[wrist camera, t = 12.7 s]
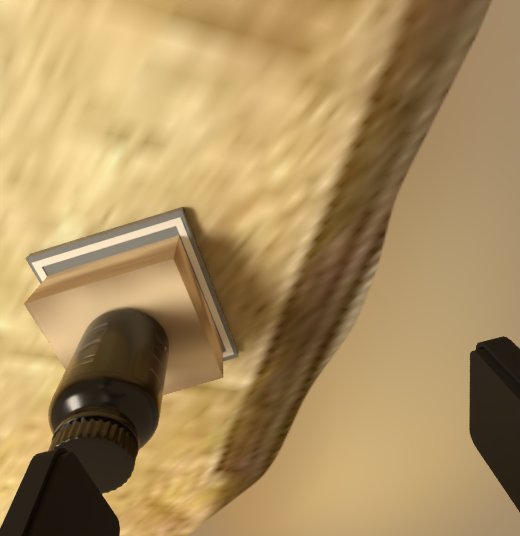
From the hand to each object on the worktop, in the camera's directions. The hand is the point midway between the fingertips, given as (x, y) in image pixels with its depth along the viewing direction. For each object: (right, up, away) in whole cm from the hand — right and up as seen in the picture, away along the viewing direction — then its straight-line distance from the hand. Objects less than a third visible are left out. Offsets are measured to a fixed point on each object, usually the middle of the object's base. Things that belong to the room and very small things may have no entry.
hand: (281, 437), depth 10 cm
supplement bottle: (-11, -2, +24) cm, 27 cm away
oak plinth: (-12, 0, +29) cm, 31 cm away
